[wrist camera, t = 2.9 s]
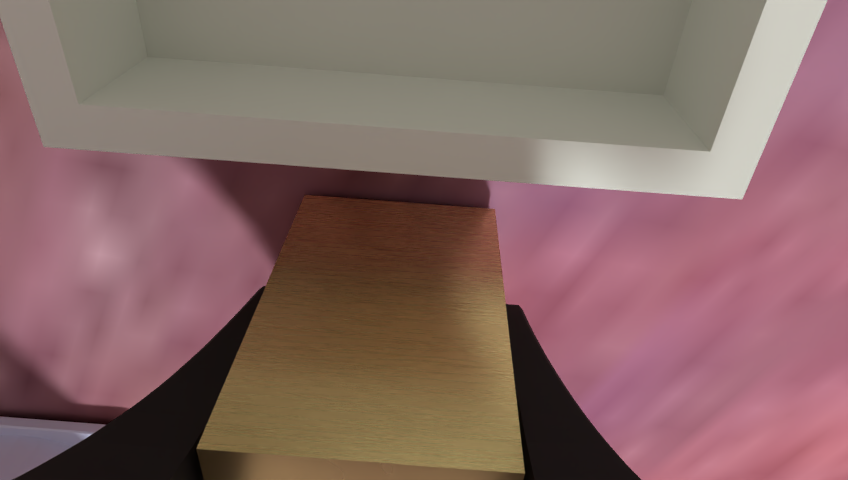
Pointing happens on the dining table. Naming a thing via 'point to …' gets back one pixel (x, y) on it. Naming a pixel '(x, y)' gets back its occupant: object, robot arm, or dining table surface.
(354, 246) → the tea tin
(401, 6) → the tote
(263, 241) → the dining table surface
